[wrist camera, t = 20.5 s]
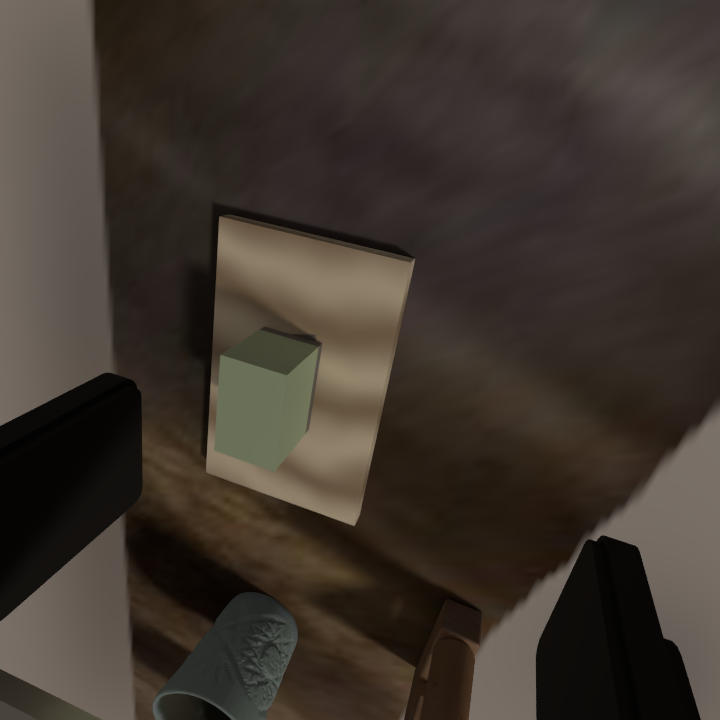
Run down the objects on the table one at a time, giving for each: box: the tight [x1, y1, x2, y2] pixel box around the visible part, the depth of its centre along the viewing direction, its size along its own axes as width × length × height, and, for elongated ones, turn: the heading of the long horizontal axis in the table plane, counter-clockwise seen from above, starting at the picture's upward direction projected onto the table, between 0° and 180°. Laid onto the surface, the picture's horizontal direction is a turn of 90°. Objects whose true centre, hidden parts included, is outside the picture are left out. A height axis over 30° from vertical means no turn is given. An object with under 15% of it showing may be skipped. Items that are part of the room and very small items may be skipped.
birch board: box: [206, 214, 415, 526], centre depth 42 cm, size 24×15×2 cm, turn 170°
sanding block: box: [214, 327, 322, 472], centre depth 39 cm, size 8×5×6 cm, turn 170°
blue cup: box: [153, 592, 298, 720], centre depth 51 cm, size 10×10×12 cm
